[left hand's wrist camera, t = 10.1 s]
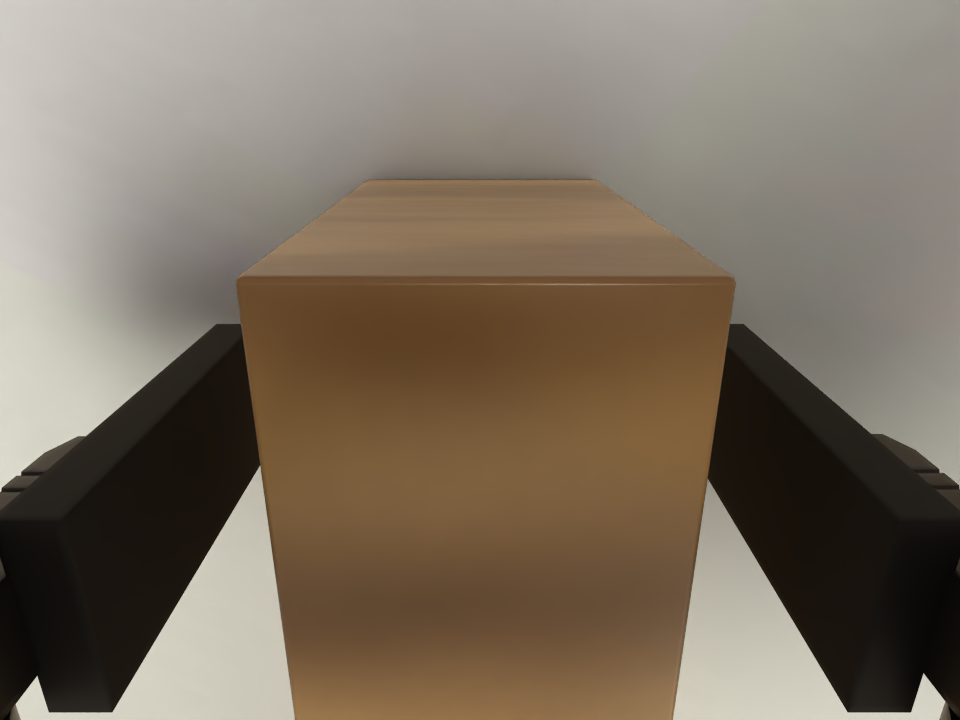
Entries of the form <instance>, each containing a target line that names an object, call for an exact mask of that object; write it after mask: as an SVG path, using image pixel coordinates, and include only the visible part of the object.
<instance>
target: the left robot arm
mask: <svg viewBox="0 0 960 720" xmlns="http://www.w3.org/2000/svg"><path fill="white" fill-rule="evenodd" d="M259 466H260V459H259V451H258V444H257V437H256V429H255V422H254V415H253V407H252V400H251V393H250V385H249V378H248V371H247V363H246V356H245V349H244V341H243V334H242V327H241V324H216V325H215V326H214V327H213V328H212V329H210V330H209V331H208V332H207V333H206V334H205V335H203V336H202V337H201V338H200V339H199V340H198V341H196V342H195V343H194V344H193V345H192V346H191V347H189V348H188V349H187V350H186V351H185V352H184V353H183V354H181V355H180V356H179V357H178V358H177V359H176V360H174V361H173V362H172V363H171V364H170V365H169V366H167V367H166V368H165V369H164V370H163V371H162V372H160V373H159V374H158V375H157V376H156V377H155V378H153V379H152V380H151V381H150V382H149V383H148V384H146V385H145V386H144V387H143V388H142V389H141V390H139V391H138V392H137V393H136V394H135V395H134V396H133V397H131V398H130V399H129V400H128V401H127V402H126V403H124V404H123V405H122V406H121V407H120V408H119V409H117V410H116V411H115V412H114V413H113V414H112V415H110V416H109V417H108V418H107V419H106V420H105V421H103V422H102V423H101V424H100V425H99V426H98V427H96V428H95V429H94V430H93V431H92V432H91V433H89V434H88V435H87V436H78V437H76V438H74V439H72V440H70V441H68V442H66V443H64V444H62V445H60V446H58V447H56V448H54V449H52V450H50V451H47V452H45V453H44V454H43V455H42V456H40V457H39V458H38V459H37V460H35V461H34V462H33V463H32V464H30V465H29V466H28V467H27V468H26V469H24V470H23V471H22V472H21V476H16V477H15V478H13V479H12V480H11V481H10V482H8V483H7V484H6V485H5V486H4V487H2V491H1V492H0V720H20V717H19V714H18V711H17V708H16V705H15V704H16V703H17V701H18V700H19V699H20V697H21V696H22V695H23V693H24V692H25V691H26V690H27V688H28V687H29V686H30V684H31V683H32V682H33V680H34V679H35V678H36V676H38V679H39V682H40V685H41V688H42V692H43V695H44V698H45V701H46V704H47V707H48V711H49V712H113V710H114V708H115V707H116V705H117V703H118V702H119V700H120V698H121V697H122V695H123V693H124V692H125V690H126V688H127V687H128V685H129V683H130V682H131V680H132V678H133V677H134V675H135V673H136V672H137V670H138V668H139V667H140V665H141V663H142V662H143V660H144V658H145V657H146V655H147V653H148V652H149V650H150V648H151V647H152V645H153V643H154V642H155V640H156V638H157V637H158V635H159V633H160V632H161V630H162V628H163V627H164V625H165V623H166V622H167V620H168V618H169V617H170V615H171V613H172V612H173V610H174V608H175V607H176V605H177V603H178V601H179V600H180V598H181V596H182V595H183V593H184V591H185V590H186V588H187V586H188V585H189V583H190V581H191V580H192V578H193V576H194V575H195V573H196V571H197V570H198V568H199V566H200V565H201V563H202V561H203V560H204V558H205V556H206V555H207V553H208V551H209V550H210V548H211V546H212V545H213V543H214V541H215V540H216V538H217V536H218V535H219V533H220V531H221V530H222V528H223V526H224V525H225V523H226V521H227V520H228V518H229V516H230V515H231V513H232V511H233V510H234V508H235V506H236V505H237V503H238V501H239V500H240V498H241V496H242V495H243V493H244V491H245V490H246V488H247V486H248V485H249V483H250V481H251V480H252V478H253V476H254V474H255V473H256V471H257V469H258V468H259ZM708 480H709V481H710V483H711V485H712V486H713V488H714V490H715V491H716V493H717V495H718V496H719V498H720V500H721V501H722V503H723V505H724V506H725V508H726V510H727V511H728V513H729V515H730V516H731V518H732V520H733V521H734V523H735V525H736V526H737V528H738V530H739V531H740V533H741V535H742V536H743V538H744V540H745V541H746V543H747V545H748V546H749V548H750V550H751V551H752V553H753V555H754V556H755V558H756V560H757V561H758V563H759V565H760V566H761V568H762V570H763V571H764V573H765V575H766V576H767V578H768V580H769V581H770V583H771V585H772V586H773V588H774V590H775V591H776V593H777V595H778V597H779V598H780V600H781V602H782V603H783V605H784V607H785V608H786V610H787V612H788V613H789V615H790V617H791V618H792V620H793V622H794V623H795V625H796V627H797V628H798V630H799V632H800V633H801V635H802V637H803V638H804V640H805V642H806V643H807V645H808V647H809V648H810V650H811V652H812V653H813V655H814V657H815V658H816V660H817V662H818V663H819V665H820V667H821V668H822V670H823V672H824V673H825V675H826V677H827V678H828V680H829V682H830V683H831V685H832V687H833V688H834V690H835V692H836V693H837V695H838V697H839V698H840V700H841V702H842V703H843V705H844V707H845V708H846V710H847V712H911V710H912V707H913V704H914V701H915V698H916V695H917V692H918V688H919V685H920V682H921V679H922V676H923V673H924V674H925V675H926V677H927V678H928V679H929V681H930V682H931V683H932V684H933V686H934V687H935V688H936V690H937V691H938V692H939V693H940V695H941V696H942V697H943V699H944V700H945V701H946V702H945V705H944V708H943V711H942V714H941V717H940V720H960V489H959V485H958V484H957V483H956V482H954V481H953V480H952V479H951V478H949V477H948V476H947V475H946V474H944V473H940V472H939V469H938V468H937V467H936V466H935V465H933V464H932V463H931V462H930V461H928V460H927V459H926V458H925V457H923V456H922V455H921V454H920V453H918V452H917V451H916V450H914V449H912V448H910V447H908V446H906V445H904V444H902V443H900V442H898V441H896V440H894V439H891V438H889V437H887V436H885V435H883V434H870V433H869V432H868V431H867V430H866V429H865V428H864V427H862V426H861V425H860V424H859V423H858V422H857V421H855V420H854V419H853V418H852V417H851V416H850V415H848V414H847V413H846V412H845V411H844V410H843V409H841V408H840V407H839V406H838V405H837V404H836V403H834V402H833V401H832V400H831V399H830V398H829V397H827V396H826V395H825V394H824V393H823V392H822V391H820V390H819V389H818V388H817V387H816V386H815V385H814V384H812V383H811V382H810V381H809V380H808V379H807V378H805V377H804V376H803V375H802V374H801V373H800V372H798V371H797V370H796V369H795V368H794V367H793V366H791V365H790V364H789V363H788V362H787V361H786V360H784V359H783V358H782V357H781V356H780V355H779V354H777V353H776V352H775V351H774V350H773V349H772V348H770V347H769V346H768V345H767V344H766V343H765V342H764V341H762V340H761V339H760V338H759V337H758V336H757V335H755V334H754V333H753V332H752V331H751V330H750V329H748V328H747V327H746V326H745V325H744V324H730V326H729V333H728V340H727V347H726V354H725V361H724V368H723V375H722V382H721V388H720V395H719V402H718V409H717V416H716V423H715V430H714V437H713V444H712V451H711V458H710V465H709V472H708Z"/></svg>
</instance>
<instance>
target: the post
mask: <svg viewBox="0 0 960 720" xmlns="http://www.w3.org/2000/svg"><path fill="white" fill-rule="evenodd" d="M735 284H736V283H735V279H734V277H732V276H731V275H730V274H728V273H727V272H725V271H724V270H723V269H721V268H720V267H718V266H717V265H716V264H714V263H713V262H711V261H710V260H709V259H707V258H706V257H704V256H703V255H702V254H700V253H699V252H697V251H696V250H694V249H693V248H692V247H690V246H689V245H687V244H686V243H685V242H683V241H682V240H680V239H679V238H678V237H676V236H675V235H673V234H672V233H671V232H669V231H668V230H666V229H665V228H664V227H662V226H661V225H659V224H658V223H657V222H655V221H654V220H652V219H651V218H649V217H648V216H647V215H645V214H644V213H642V212H641V211H640V210H638V209H637V208H635V207H634V206H633V205H631V204H630V203H628V202H627V201H626V200H624V199H623V198H621V197H620V196H619V195H617V194H616V193H614V192H613V191H612V190H610V189H609V188H607V187H606V186H604V185H603V184H602V183H600V182H599V181H597V180H367V181H366V182H364V183H363V184H362V185H360V186H359V187H358V188H356V189H355V190H354V191H352V192H351V193H350V194H348V195H347V196H346V197H344V198H343V199H342V200H340V201H339V202H338V203H336V204H335V205H334V206H332V207H331V208H330V209H328V210H327V211H326V212H324V213H323V214H321V215H320V216H319V217H317V218H316V219H315V220H313V221H312V222H311V223H309V224H308V225H307V226H305V227H304V228H303V229H301V230H300V231H299V232H297V233H296V234H295V235H293V236H292V237H291V238H289V239H288V240H287V241H285V242H284V243H283V244H281V245H280V246H279V247H277V248H276V249H275V250H273V251H272V252H271V253H269V254H268V255H267V256H265V257H264V258H263V259H261V260H260V261H259V262H257V263H256V264H255V265H253V266H252V267H251V268H249V269H248V270H246V271H245V272H244V273H242V274H241V275H240V276H238V277H237V280H236V290H237V297H238V305H239V312H240V319H241V327H242V334H243V341H244V349H245V356H246V363H247V371H248V378H249V385H250V393H251V400H252V407H253V415H254V422H255V429H256V437H257V444H258V451H259V459H260V466H261V473H262V481H263V488H264V495H265V503H266V510H267V517H268V525H269V532H270V539H271V547H272V554H273V561H274V569H275V576H276V583H277V591H278V598H279V605H280V613H281V620H282V627H283V635H284V642H285V649H286V656H287V664H288V671H289V678H290V686H291V693H292V700H293V708H294V715H295V720H673V715H674V708H675V701H676V694H677V687H678V680H679V673H680V666H681V659H682V652H683V645H684V638H685V632H686V625H687V618H688V611H689V604H690V597H691V590H692V583H693V576H694V569H695V562H696V555H697V548H698V541H699V534H700V527H701V520H702V513H703V507H704V500H705V493H706V486H707V479H708V472H709V465H710V458H711V451H712V444H713V437H714V430H715V423H716V416H717V409H718V402H719V395H720V388H721V382H722V375H723V368H724V361H725V354H726V347H727V340H728V333H729V326H730V319H731V312H732V305H733V298H734V291H735Z"/></svg>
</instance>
